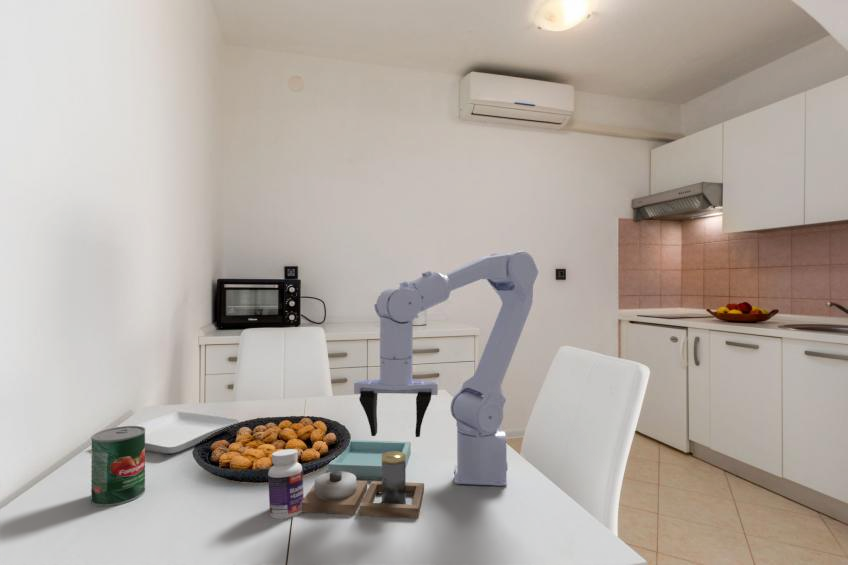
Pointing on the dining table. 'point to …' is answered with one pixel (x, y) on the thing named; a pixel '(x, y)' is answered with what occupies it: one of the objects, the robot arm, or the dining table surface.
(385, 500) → the tin can
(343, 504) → the block
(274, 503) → the pill bottle
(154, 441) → the salad plate
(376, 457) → the tray
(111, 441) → the canned tomato
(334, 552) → the dining table surface
